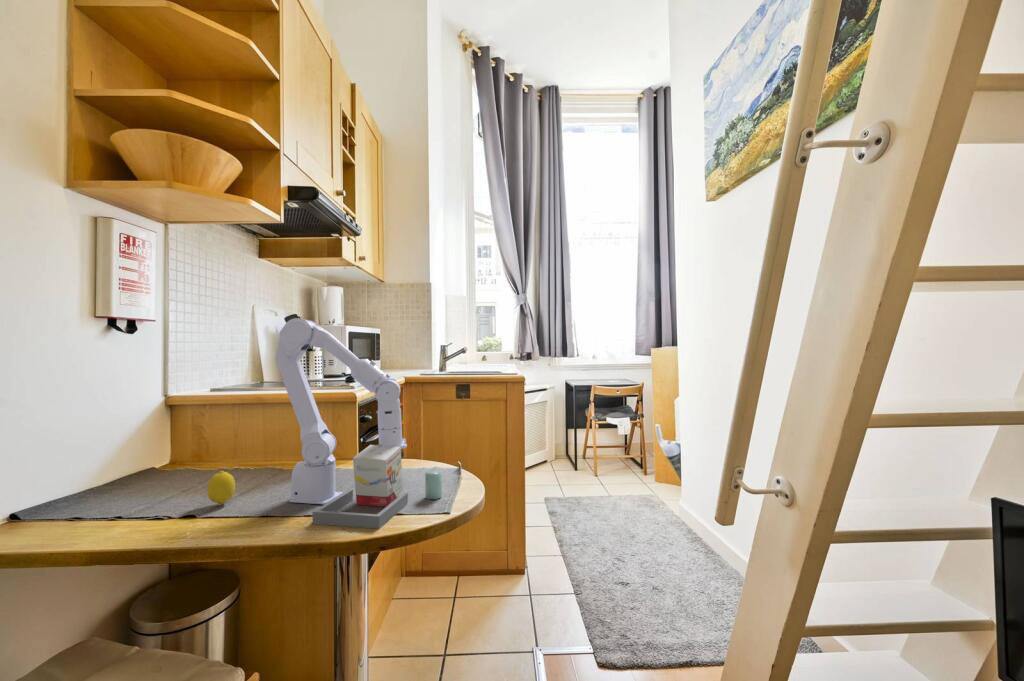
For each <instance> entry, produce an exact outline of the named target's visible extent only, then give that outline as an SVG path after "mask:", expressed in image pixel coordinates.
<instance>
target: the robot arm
mask: <svg viewBox="0 0 1024 681" xmlns="http://www.w3.org/2000/svg"><path fill="white" fill-rule="evenodd" d="M278 337H279V340H278V344H277V349H276V352H275V357H274V360H275V363H276V365H277V368H278V371H279V375H280V376H281V379H282V381H283V384H284V386H285V390H286V392H287V395H288V398H289V401H290V403H291V406H292V409H293V411H294V414H295V416H296V420H297V422H298V424H299V427H300V432H299V433H300V434H299V435H300V438H299V439H300V440H301V441H300V442H301V456H302V459H303V461H299V462H297V463H296V464H295V465H294V466H293V469H292V472H291V499H289V503H297V504H312V505H313V504H314V505H325V504H326V503H328V502H329V501H331V500H333V499H334V498H336V497H338V496H339V495H341V494H343V491H336V457H335V456H334V454H333V452H335V450H336V449H337V439H336V437H335V435H334V434H332V433H331V431H330V430H329V428H328V426H327V423H325V422H324V421H323V419H322V416H321V414H320V413H321V412H320V411H319V408H318V405H317V403H316V400H315V398H314V397H315V396H314V394H313V392H312V390H311V387H310V384H309V382H308V379H307V376H306V372H305V369H304V367H303V364H302V362H301V360H302V358H303V357H304V355H305V353H306V352H307V349H309V348H310V347H314V348H315V347H316V348H321V349H324V350H326V351H327V352H328V353H329V354H331V356H334V358H336V359H338V360H339V361H340V362H342V364H343V365H345V366H346V367H348V369H350V376H351V377H352V379H354V380H355V381H356V382H358V383H359V384H360V385H361V386H362V387H363V388H365V389H366V390H367V391H369V392H370V393H374V397H375V399H376V401H377V411H376V412H377V430H378V432H377V433H378V445H381V446H385V447H392V446H393V447H394V446H396V447H401V460H402V459H403V456H404V454H405V453H404V451H402V449H406V448H407V447H408V444H407V441H406V439H407V438H403V424H402V409H401V401H400V396H401V392H402V391H401V385H400V384H399V383H398V382H397V380H396V379H395V378H391V375H390V374H389V373H387V374H386V373H385V372H384V371H383V370H381V369H380V368H379V367H378V366H377V365H376V364H377V362H376V361H374V360H373V359H371V360H369V358H359V357H358V356H356V354H355V353H353V351H351V350H350V349H349V348H347V347H346V345H344V344H343V343H342V342H341V341H340V340H339V339H337V338H336V337H335V336H334V335H333V334H332V333H330V332H329V331H328V330H326V329H325V328H323V327H321V326H319V325H318V324H317V323H316V322H314V321H313V320H310V319H304V318H299V317H298V318H297V317H295V318H292V319H289V320H288V321H287V322H286V323H285V324H284V325H283V327H282V328H281V330H280V331H279V332H278ZM381 451H382V450H381ZM381 451H379V452H377V451H376V452H374V453H377V454H383V453H384V452H385V451H383V452H381ZM386 451H387V450H386Z"/></svg>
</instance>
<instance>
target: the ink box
mask: <svg viewBox="0 0 1024 681" xmlns="http://www.w3.org/2000/svg"><path fill="white" fill-rule="evenodd" d="M381 450H382V451H381ZM386 450H387V451H386ZM376 451H377V452H379V451H381V452H383V451H385V452H384V453H383V454H377V453H374V452H376ZM401 451H402V449H401V447H396V446H394V447H393V446H392V447H385V446H381V445H379V444H369V445H368V446H367V447H365V448H364V449H363V450H361V451H360V452H359V453H358V454H356V455H355V456H353V458H352V464H353V476H354V477H353V478H354V488H355V500H356V505H359V506H370V507H382V506H383V507H384V508H386V507H387V506H388V505H389V504H391V503H392V502H393V501H394V500H395V499H397V498H398V497H399V496H400V495H401V493H402V492H403V491H404V482H403V480H404V479H403V478H404V477H403V466H402V465H403V464H402V459H401Z"/></svg>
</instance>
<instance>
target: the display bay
mask: <svg viewBox="0 0 1024 681" xmlns="http://www.w3.org/2000/svg"><path fill="white" fill-rule="evenodd" d="M353 494H354V489H348V490H346V491H344V492H342V494H341V495H339V496H338V497H336V498H334V499H333V500H331V501H329V502H328V503H326V504H322V505H321V506H320V507H318V508H316V509H314V510H313V511H312V515H311V516H312V518H311V519H312V520H311V521H312V522H311V523H312V524H313V525H324V526H325V525H326V526H338V527H339V526H340V527H352V528H367V529H377V530H379V529H381V528H382V527H383V526H384V525H385V524H387V522H389V521H390V520H391V519H392V518H393V517H394V516H396V515H397V514H398V513H399V512H400V511H401V510H402V509H403V508H405V505H406V504H407V503H408V504H409V502H408V498H409V497H408V496H409V495H408V494H409V493H407V492H403V493H402V494H399V496H398V497H397V498H396V499H395V500H394V501H393V502H392V503H391V504H389V505H388V506H387V507H384V508H383V509H382V510H381V511H379V512H377V514H374V513H363V512H362V513H359V512H347V511H339V510H341V509H342V508H343V507H345V506H346V505H348V504H349V503H351V502H352V501H353V500H354V499H353V498H354V495H353ZM408 504H407V505H408ZM407 505H406V506H407ZM402 507H403V508H402ZM401 508H402V509H401ZM338 509H339V510H338ZM400 509H401V510H400ZM399 510H400V511H399ZM335 511H336V512H335ZM398 511H399V512H398ZM397 512H398V513H397ZM396 513H397V514H396Z"/></svg>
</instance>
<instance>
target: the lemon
mask: <svg viewBox="0 0 1024 681" xmlns="http://www.w3.org/2000/svg"><path fill="white" fill-rule="evenodd" d="M206 491H207V496H208V499H209V500H210V501H211V502H213V503H215V504H218V505H219V504H223V505H225V503H226V502H228V501H230V499H232V497H233V496H234V495H235V491H236V481H235V478H234V476H233V475H232V474H230V472H227V471H224V470H220V471H219V472H217V473H215V474H214V475H212V476H211V478H210V479H209V481H208V484H207V489H206Z"/></svg>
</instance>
